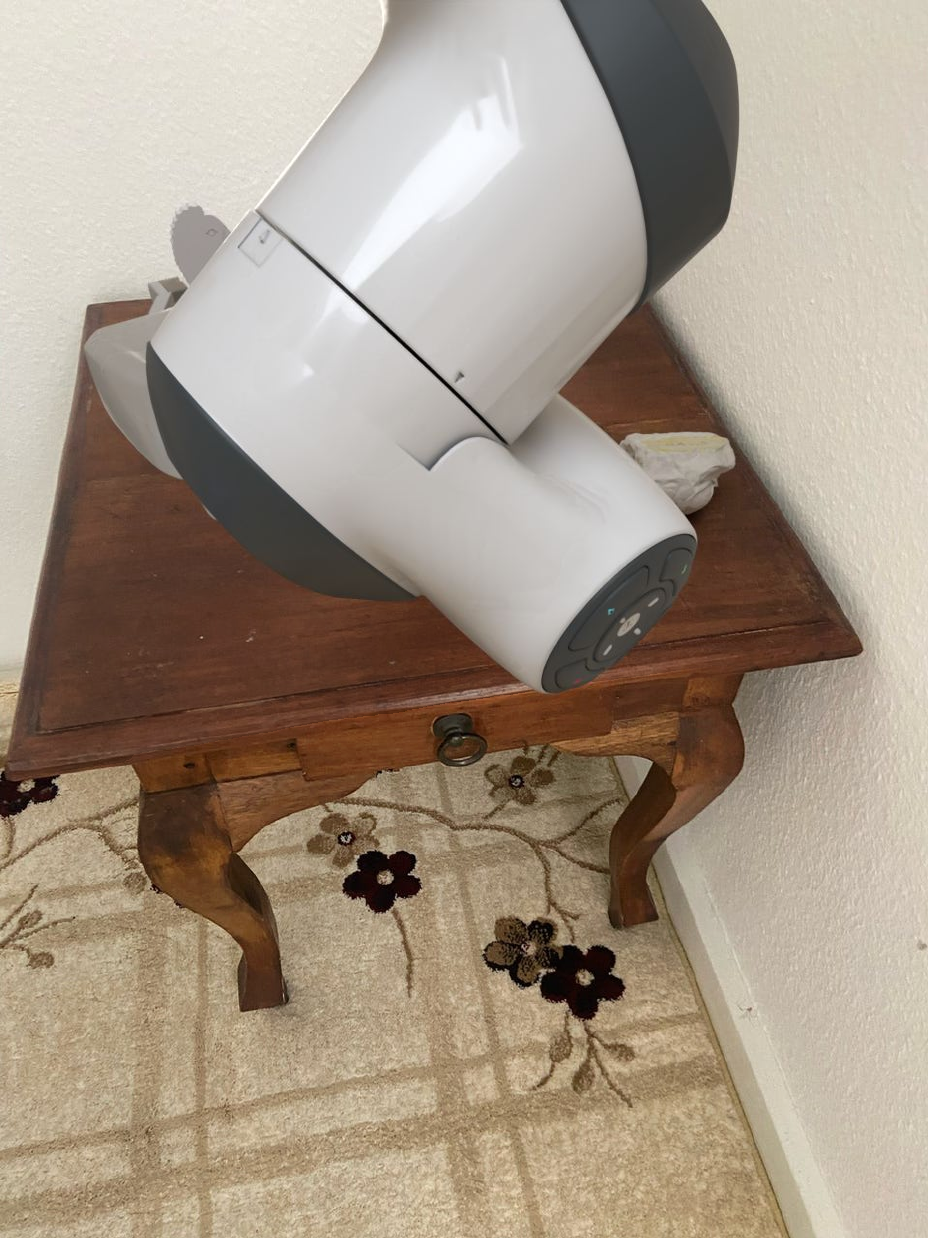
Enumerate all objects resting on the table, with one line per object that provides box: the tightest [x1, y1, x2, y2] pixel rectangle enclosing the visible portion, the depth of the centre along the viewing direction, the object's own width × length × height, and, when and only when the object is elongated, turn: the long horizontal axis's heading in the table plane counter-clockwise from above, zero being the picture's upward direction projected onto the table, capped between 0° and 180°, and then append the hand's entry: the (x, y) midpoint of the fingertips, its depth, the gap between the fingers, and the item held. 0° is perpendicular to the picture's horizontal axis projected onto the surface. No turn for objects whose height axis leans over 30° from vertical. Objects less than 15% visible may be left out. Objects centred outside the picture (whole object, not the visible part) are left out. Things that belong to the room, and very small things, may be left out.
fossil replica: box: [619, 431, 736, 515], centre depth 75 cm, size 12×8×10 cm
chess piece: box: [169, 200, 232, 286], centre depth 92 cm, size 10×10×15 cm
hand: (252, 268), depth 45 cm, fingers open, 8 cm apart
